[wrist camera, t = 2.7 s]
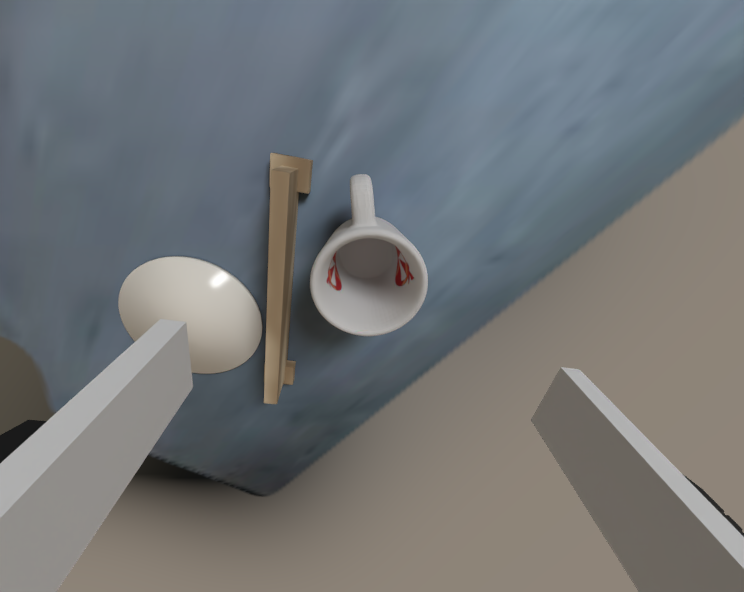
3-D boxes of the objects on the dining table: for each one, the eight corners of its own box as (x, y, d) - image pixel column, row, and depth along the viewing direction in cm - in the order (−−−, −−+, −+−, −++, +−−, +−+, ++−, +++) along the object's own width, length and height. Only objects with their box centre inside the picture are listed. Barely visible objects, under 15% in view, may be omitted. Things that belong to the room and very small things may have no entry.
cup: (309, 172, 24) (290, 185, 17) (408, 164, 24) (430, 174, 17) (327, 293, 29) (318, 342, 22) (410, 286, 29) (428, 332, 22)
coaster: (133, 364, 32) (131, 366, 32) (108, 245, 26) (105, 246, 26) (261, 377, 33) (260, 379, 33) (264, 267, 28) (263, 269, 27)
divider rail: (266, 375, 33) (254, 407, 29) (273, 152, 24) (256, 155, 20) (294, 378, 34) (285, 410, 30) (312, 160, 24) (304, 164, 20)
